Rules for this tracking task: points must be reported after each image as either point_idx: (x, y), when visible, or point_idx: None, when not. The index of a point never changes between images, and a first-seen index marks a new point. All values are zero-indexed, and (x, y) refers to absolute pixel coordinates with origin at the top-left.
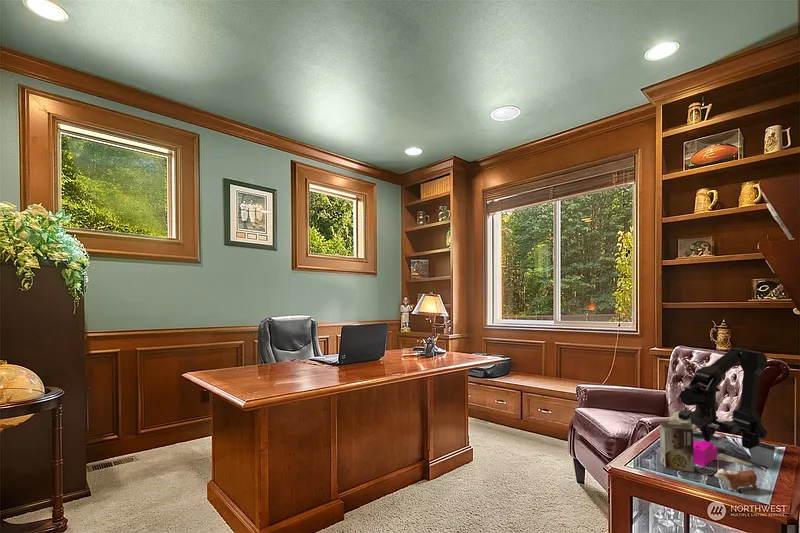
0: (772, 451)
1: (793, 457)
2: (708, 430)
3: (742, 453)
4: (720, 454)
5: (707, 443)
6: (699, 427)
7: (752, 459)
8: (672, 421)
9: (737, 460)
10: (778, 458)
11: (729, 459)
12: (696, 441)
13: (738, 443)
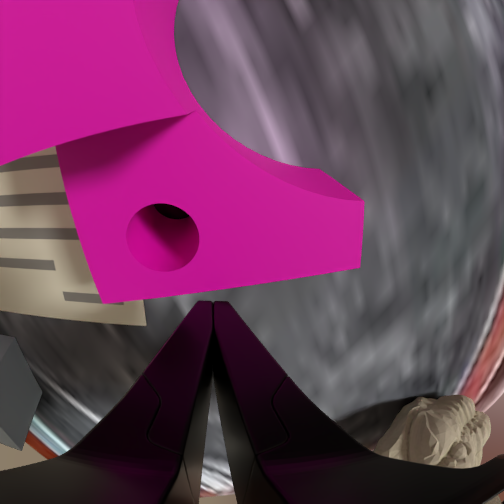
0: None
1: (43, 456)
2: (116, 476)
3: (107, 406)
4: (138, 301)
5: (30, 39)
6: (372, 469)
7: (2, 348)
8: (477, 415)
9: (32, 291)
10: (38, 433)
11: (54, 260)
12: (327, 254)
13: None
